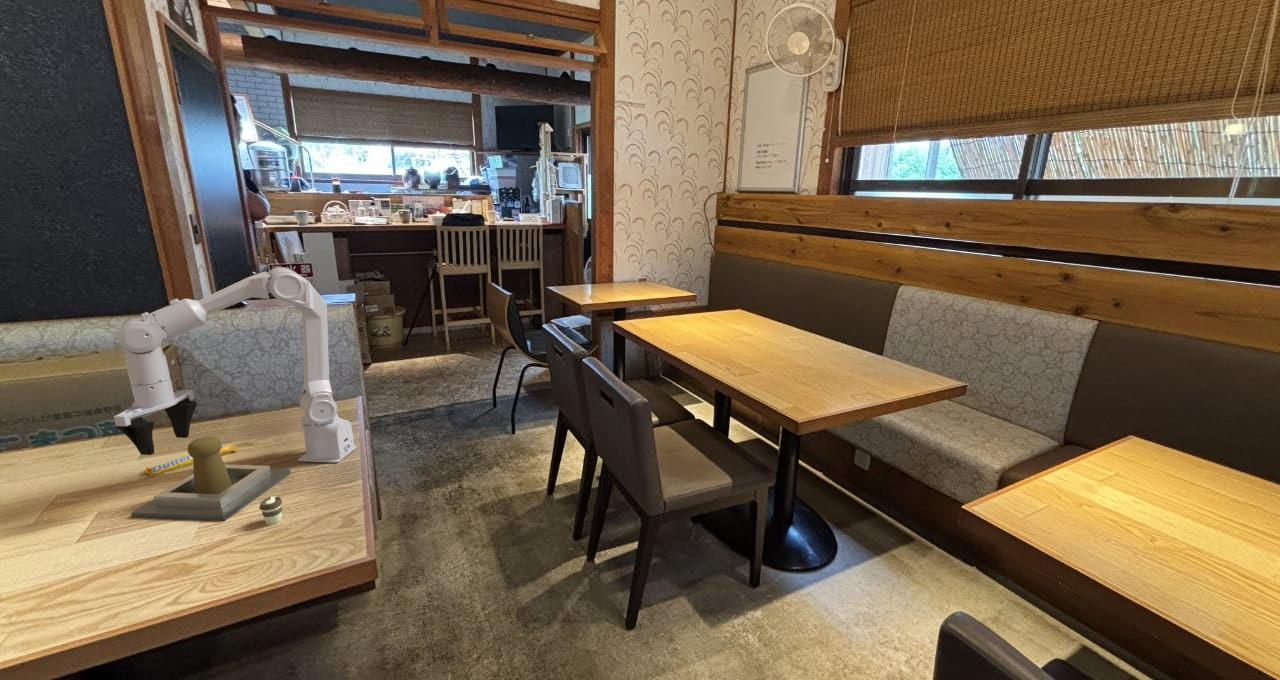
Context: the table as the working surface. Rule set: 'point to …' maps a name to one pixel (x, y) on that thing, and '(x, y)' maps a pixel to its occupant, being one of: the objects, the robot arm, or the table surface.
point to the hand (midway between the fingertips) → (165, 445)
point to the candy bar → (183, 462)
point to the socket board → (212, 495)
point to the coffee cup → (272, 510)
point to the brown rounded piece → (208, 466)
